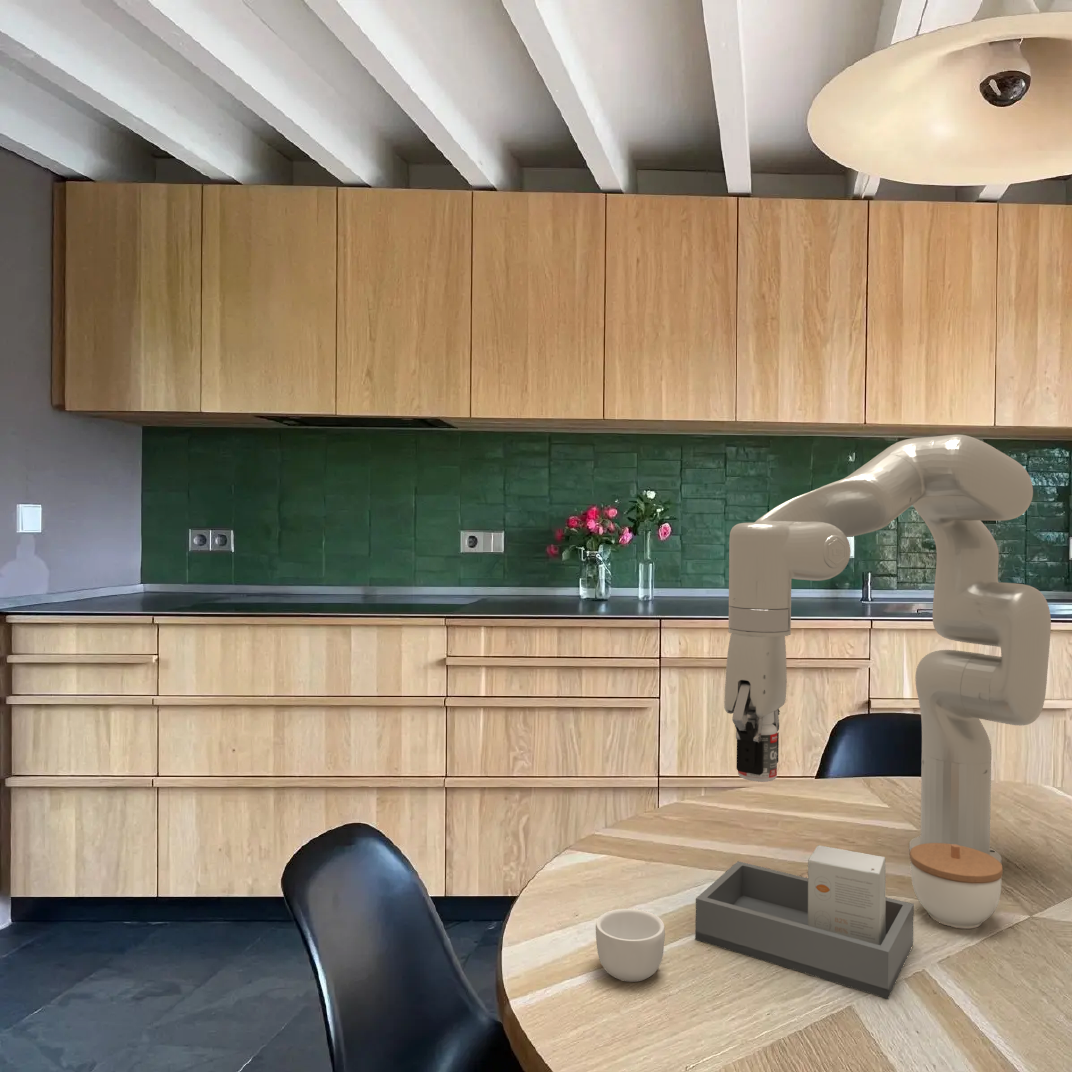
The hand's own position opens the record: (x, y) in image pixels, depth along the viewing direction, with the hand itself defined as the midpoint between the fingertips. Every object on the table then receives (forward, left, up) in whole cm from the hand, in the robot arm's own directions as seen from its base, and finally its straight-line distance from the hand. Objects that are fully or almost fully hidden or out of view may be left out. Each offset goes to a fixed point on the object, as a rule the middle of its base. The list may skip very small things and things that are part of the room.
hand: (757, 765), depth 104 cm
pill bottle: (0, 0, -2) cm, 2 cm away
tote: (0, +6, -20) cm, 21 cm away
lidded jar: (-18, +20, -21) cm, 34 cm away
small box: (0, +11, -20) cm, 22 cm away
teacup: (+17, -8, -21) cm, 28 cm away
